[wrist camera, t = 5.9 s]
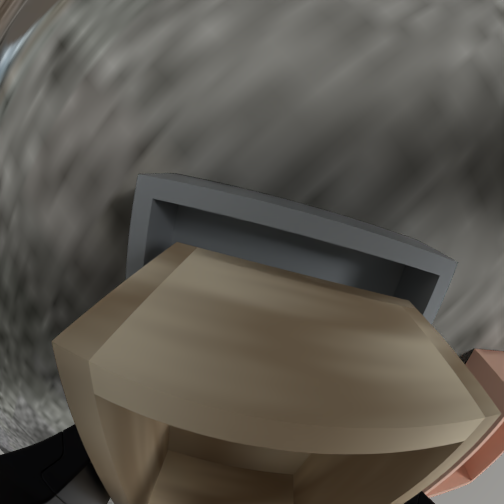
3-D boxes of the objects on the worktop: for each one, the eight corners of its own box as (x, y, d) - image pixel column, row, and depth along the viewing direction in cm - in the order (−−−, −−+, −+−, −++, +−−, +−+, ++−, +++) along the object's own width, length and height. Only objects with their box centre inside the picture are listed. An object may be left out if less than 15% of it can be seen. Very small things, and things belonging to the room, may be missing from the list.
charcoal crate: (418, 240, 10) (458, 262, 7) (313, 442, 14) (316, 480, 11) (173, 173, 10) (138, 173, 7) (150, 407, 14) (132, 442, 11)
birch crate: (408, 300, 7) (501, 413, 2) (300, 470, 10) (301, 553, 5) (177, 241, 7) (51, 340, 3) (159, 441, 10) (126, 522, 5)
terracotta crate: (520, 352, 11) (554, 388, 6) (452, 444, 14) (470, 483, 9) (474, 348, 11) (517, 399, 6) (394, 453, 14) (409, 503, 9)
